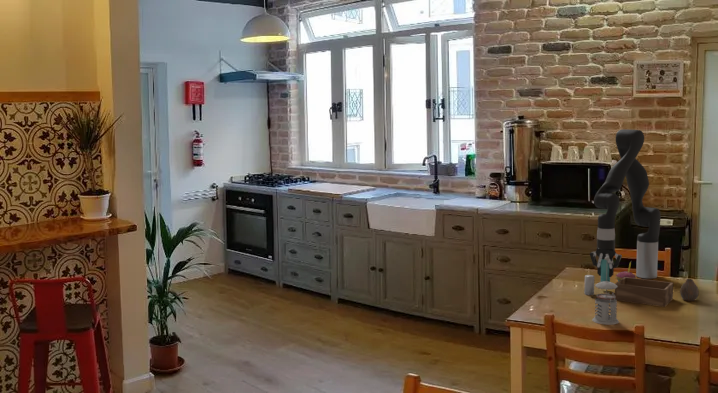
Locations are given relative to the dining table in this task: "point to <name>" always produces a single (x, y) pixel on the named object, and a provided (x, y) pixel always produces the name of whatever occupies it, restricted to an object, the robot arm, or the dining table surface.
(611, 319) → the french press
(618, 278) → the cupcake
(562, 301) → the dining table surface
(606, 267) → the teal peg
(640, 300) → the peg box
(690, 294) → the vase
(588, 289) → the grey peg
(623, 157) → the robot arm
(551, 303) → the dining table surface
